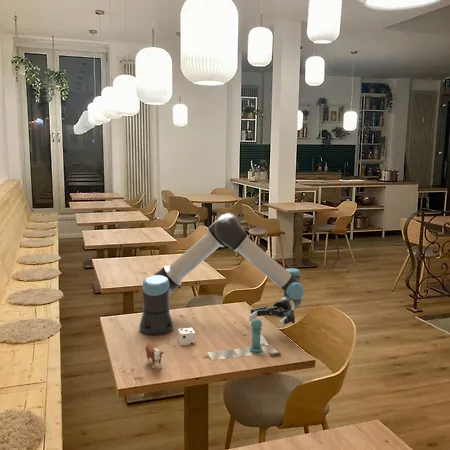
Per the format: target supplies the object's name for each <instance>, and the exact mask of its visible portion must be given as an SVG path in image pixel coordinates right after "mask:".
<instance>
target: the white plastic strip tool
mask: <svg viewBox="0 0 450 450" xmlns="http://www.w3.org/2000/svg"><path fill="white" fill-rule="evenodd" d="M264 345H270V344H269V343H268V341H267V339H266V338H265V337H264V336H263V334H260V346H264Z"/></svg>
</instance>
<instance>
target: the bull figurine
mask: <svg viewBox="0 0 450 450" xmlns="http://www.w3.org/2000/svg"><path fill="white" fill-rule="evenodd" d="M145 353H146V354H145V355H146V359H147V365H151V362H152V370H155V368H156V367H155V364H159V365H158V369H159V370H162V369H163V367H162V362H161V361H162V355H163V354H164V351H161V350H160V349H159V348H158V347H156V346H155V345H154V344H152V343H150V342H148V343H147V345H145ZM150 359H151V361H150Z"/></svg>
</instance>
